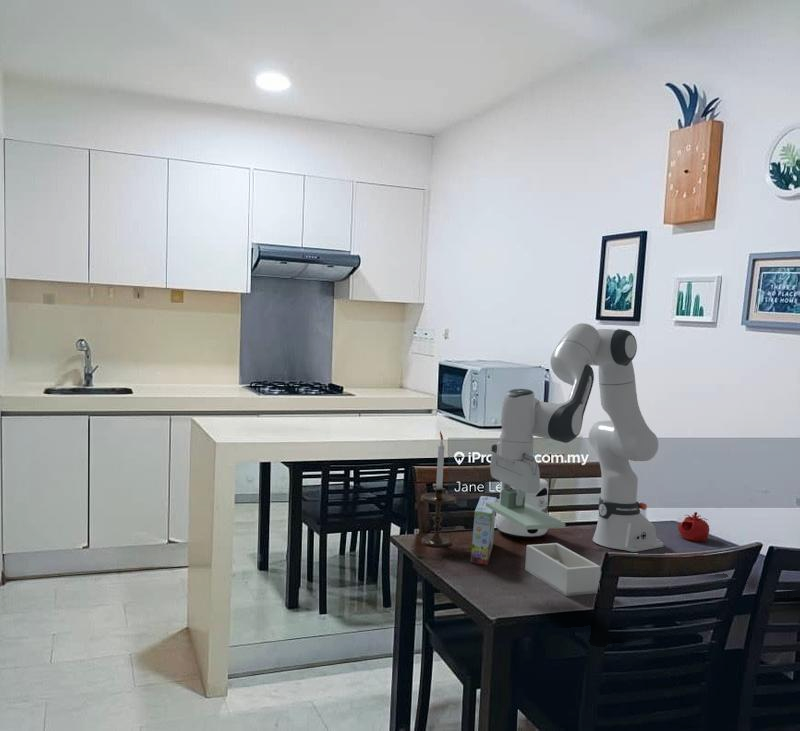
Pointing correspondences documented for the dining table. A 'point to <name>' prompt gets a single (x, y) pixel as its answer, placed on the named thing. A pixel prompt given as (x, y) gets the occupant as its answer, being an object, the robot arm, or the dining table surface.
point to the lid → (523, 513)
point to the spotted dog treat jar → (533, 500)
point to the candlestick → (438, 503)
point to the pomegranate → (694, 528)
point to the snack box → (483, 531)
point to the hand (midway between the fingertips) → (512, 502)
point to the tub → (562, 569)
